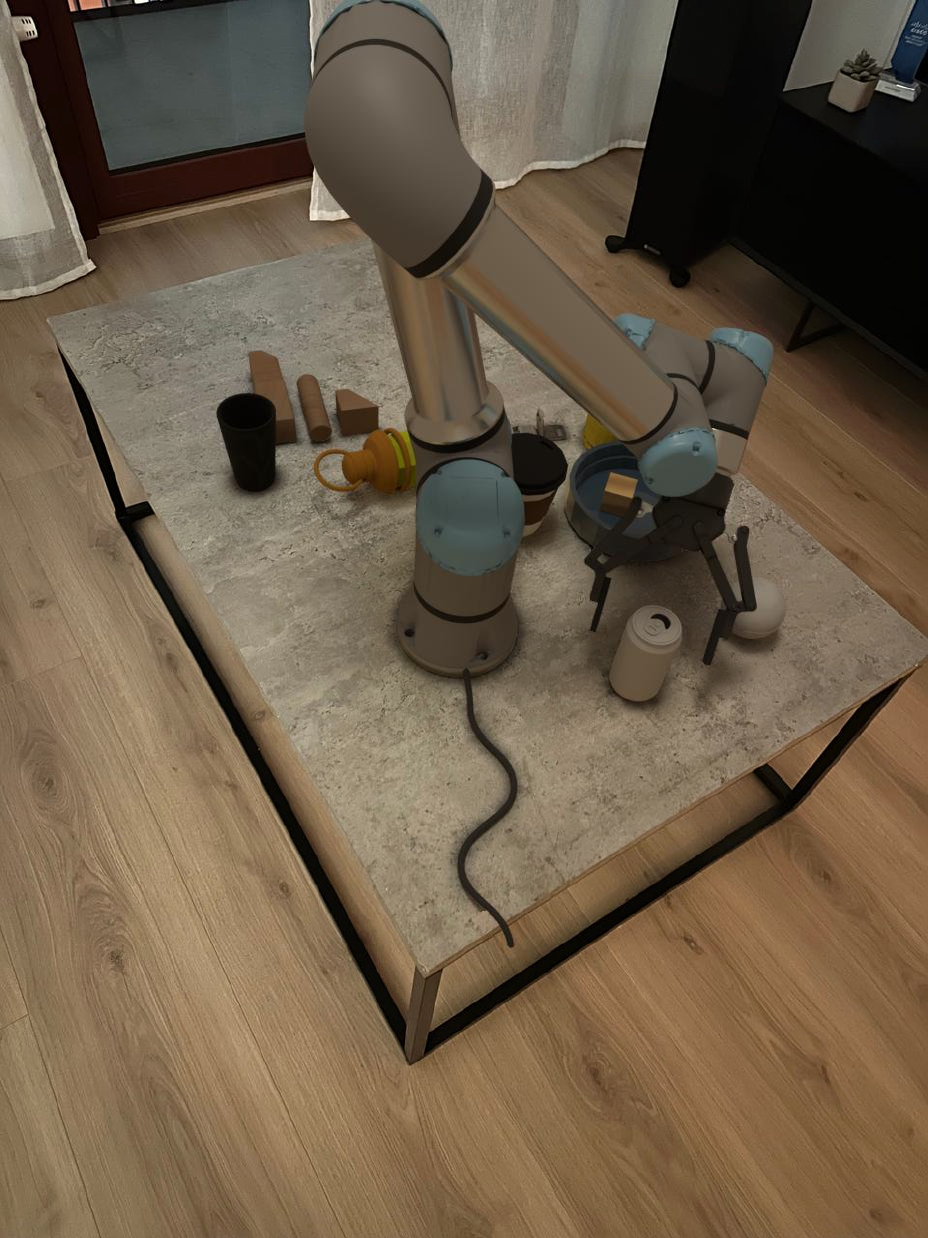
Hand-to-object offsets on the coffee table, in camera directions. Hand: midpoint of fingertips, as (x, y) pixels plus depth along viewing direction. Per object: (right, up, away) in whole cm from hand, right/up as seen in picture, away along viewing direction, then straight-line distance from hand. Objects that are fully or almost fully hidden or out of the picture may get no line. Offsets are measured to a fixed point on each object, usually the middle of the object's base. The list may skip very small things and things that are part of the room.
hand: (648, 647), depth 105 cm
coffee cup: (-14, +17, +21) cm, 30 cm away
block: (0, +20, +23) cm, 31 cm away
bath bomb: (+15, +2, +12) cm, 19 cm away
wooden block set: (-45, +36, +33) cm, 66 cm away
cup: (-51, +23, +22) cm, 60 cm away
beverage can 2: (-1, -5, +6) cm, 7 cm away
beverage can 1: (+1, +31, +33) cm, 45 cm away
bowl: (+2, +19, +24) cm, 30 cm away
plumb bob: (-31, +23, +24) cm, 45 cm away
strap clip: (-10, +32, +33) cm, 47 cm away
